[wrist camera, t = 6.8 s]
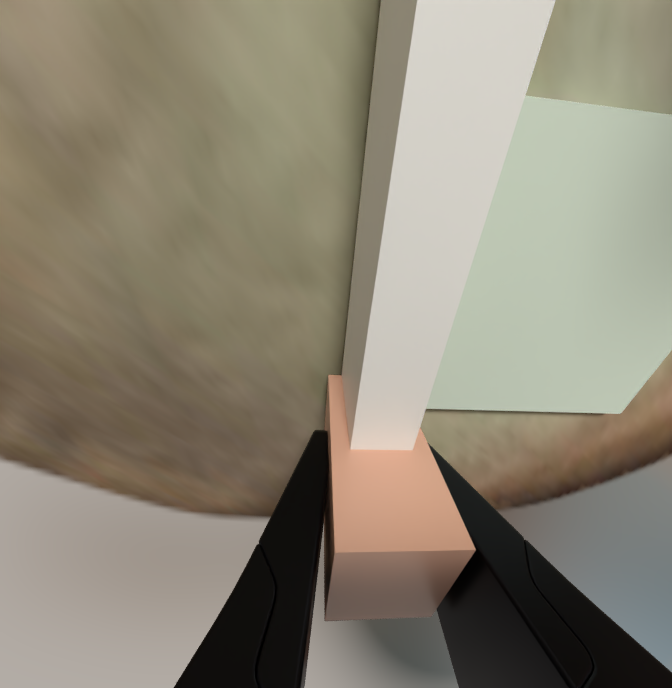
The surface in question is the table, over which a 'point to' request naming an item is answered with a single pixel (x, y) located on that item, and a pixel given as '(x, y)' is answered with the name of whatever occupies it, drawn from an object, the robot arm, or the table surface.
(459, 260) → the bar
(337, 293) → the table surface
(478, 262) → the mat
